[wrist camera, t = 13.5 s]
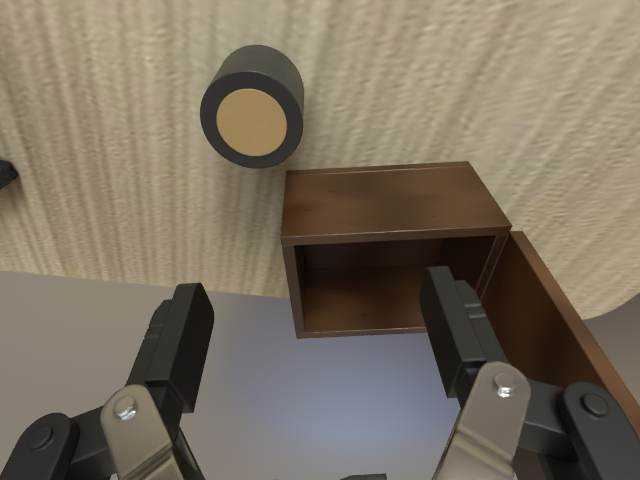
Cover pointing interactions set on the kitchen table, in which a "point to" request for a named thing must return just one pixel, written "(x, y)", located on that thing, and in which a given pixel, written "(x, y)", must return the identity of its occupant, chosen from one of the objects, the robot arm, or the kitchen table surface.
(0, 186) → the hairbrush
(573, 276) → the kitchen table surface
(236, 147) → the dark grey short cylinder
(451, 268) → the box
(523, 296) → the lid
